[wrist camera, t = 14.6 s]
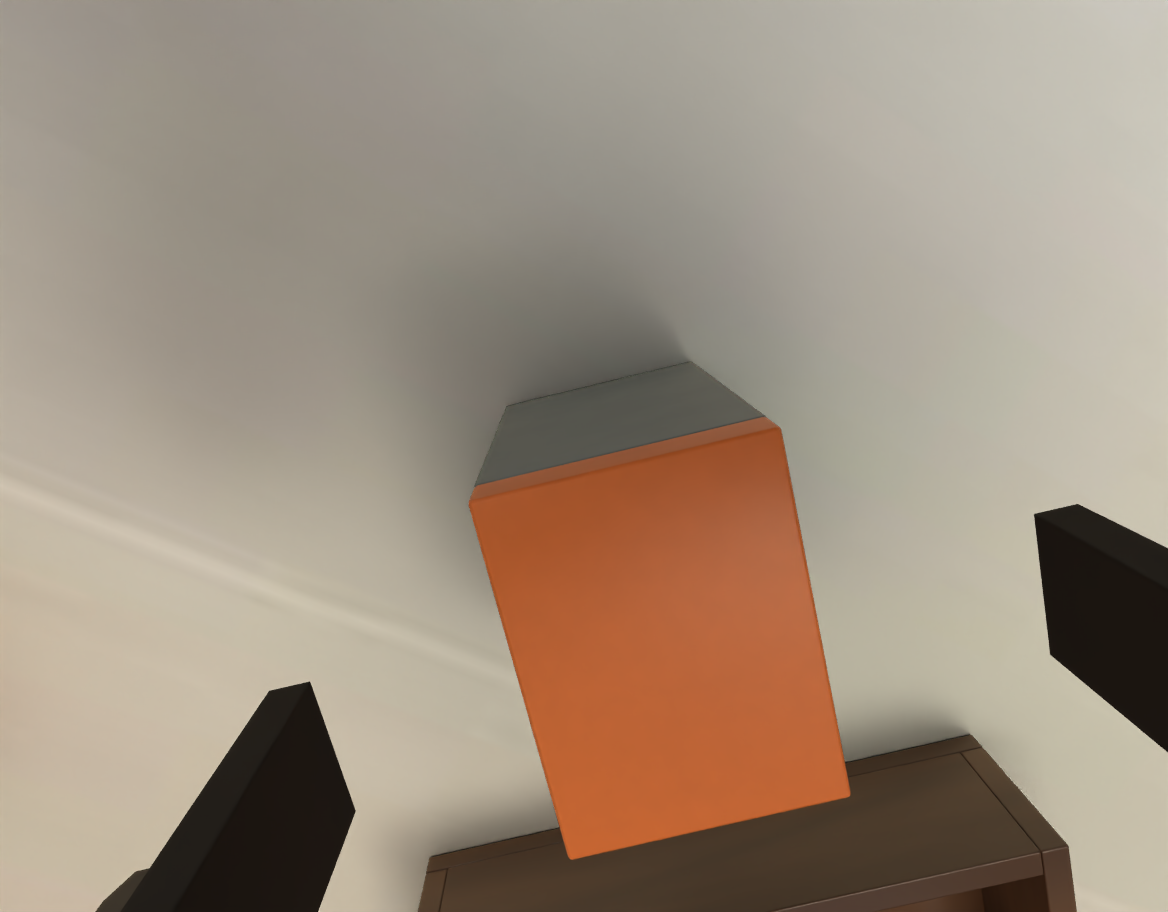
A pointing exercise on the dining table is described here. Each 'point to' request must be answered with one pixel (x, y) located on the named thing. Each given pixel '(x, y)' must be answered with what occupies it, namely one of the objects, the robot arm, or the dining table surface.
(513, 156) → the dining table surface
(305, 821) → the robot arm
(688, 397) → the container
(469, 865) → the chest
